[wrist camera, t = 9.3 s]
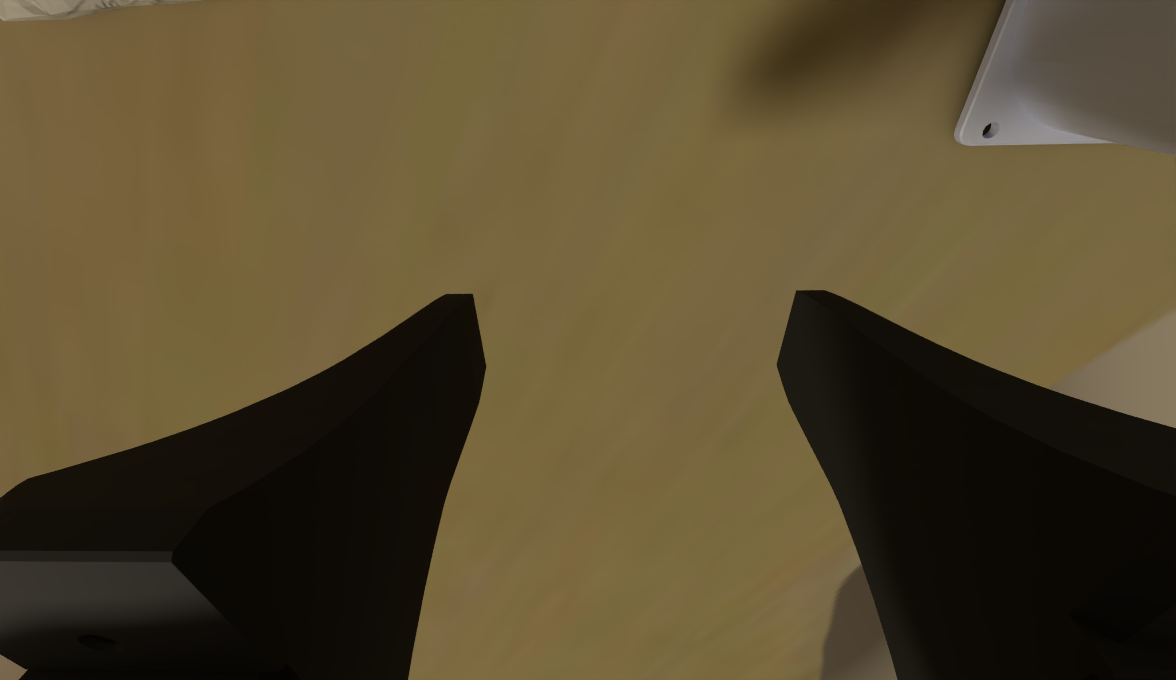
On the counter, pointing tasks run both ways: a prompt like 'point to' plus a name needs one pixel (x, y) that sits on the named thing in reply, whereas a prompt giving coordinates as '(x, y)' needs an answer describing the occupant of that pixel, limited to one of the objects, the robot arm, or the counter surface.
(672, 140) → the counter surface
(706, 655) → the counter surface
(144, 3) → the packaged product
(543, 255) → the counter surface
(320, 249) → the counter surface
